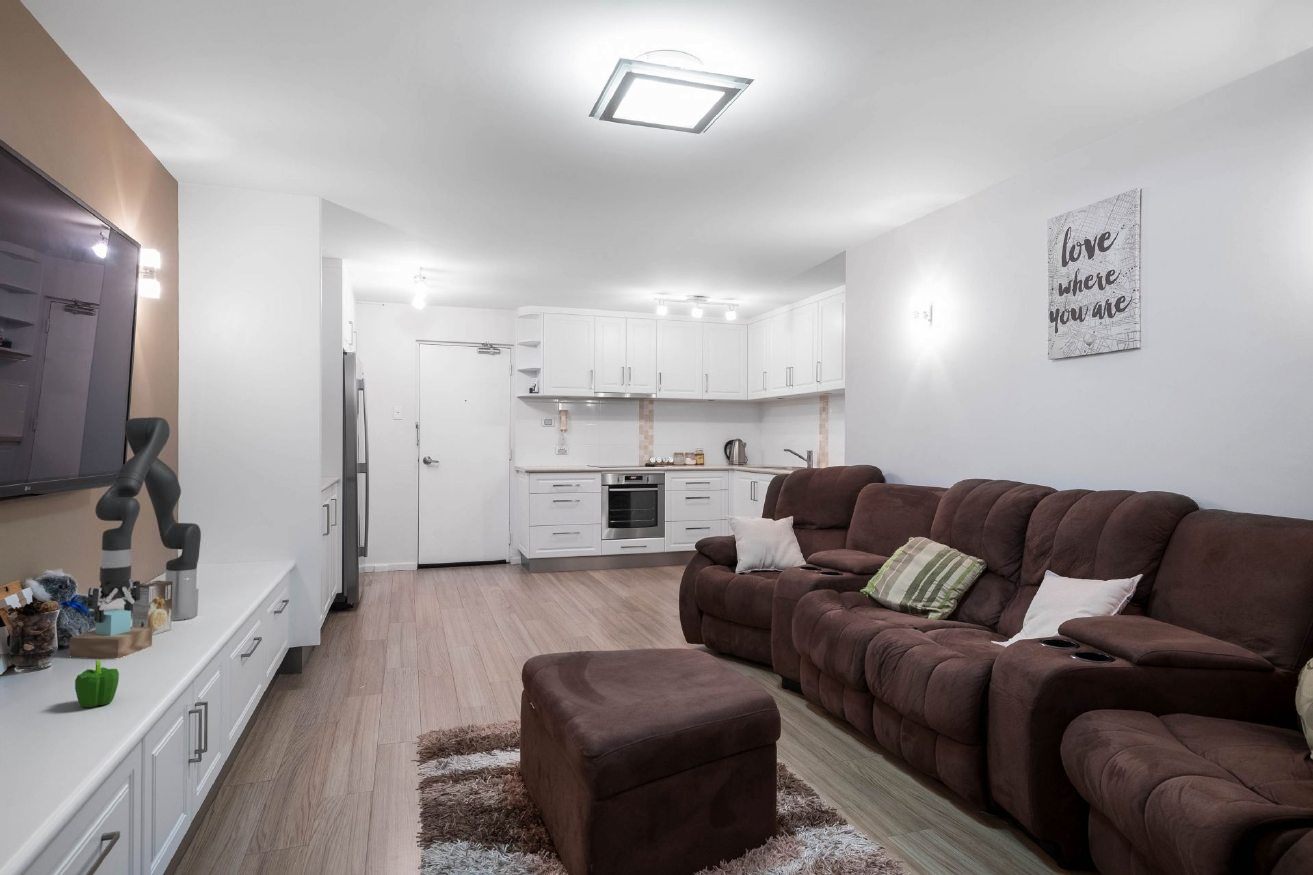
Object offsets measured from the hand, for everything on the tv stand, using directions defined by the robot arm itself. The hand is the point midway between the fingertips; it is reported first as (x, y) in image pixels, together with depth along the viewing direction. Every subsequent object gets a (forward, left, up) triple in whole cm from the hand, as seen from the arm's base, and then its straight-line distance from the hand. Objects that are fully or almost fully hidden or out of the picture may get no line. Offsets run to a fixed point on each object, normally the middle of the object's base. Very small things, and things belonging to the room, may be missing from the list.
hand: (113, 619), depth 219 cm
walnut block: (0, 0, -10) cm, 10 cm away
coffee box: (-20, -9, -10) cm, 24 cm away
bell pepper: (+33, +38, -10) cm, 51 cm away
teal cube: (0, 0, -4) cm, 4 cm away
